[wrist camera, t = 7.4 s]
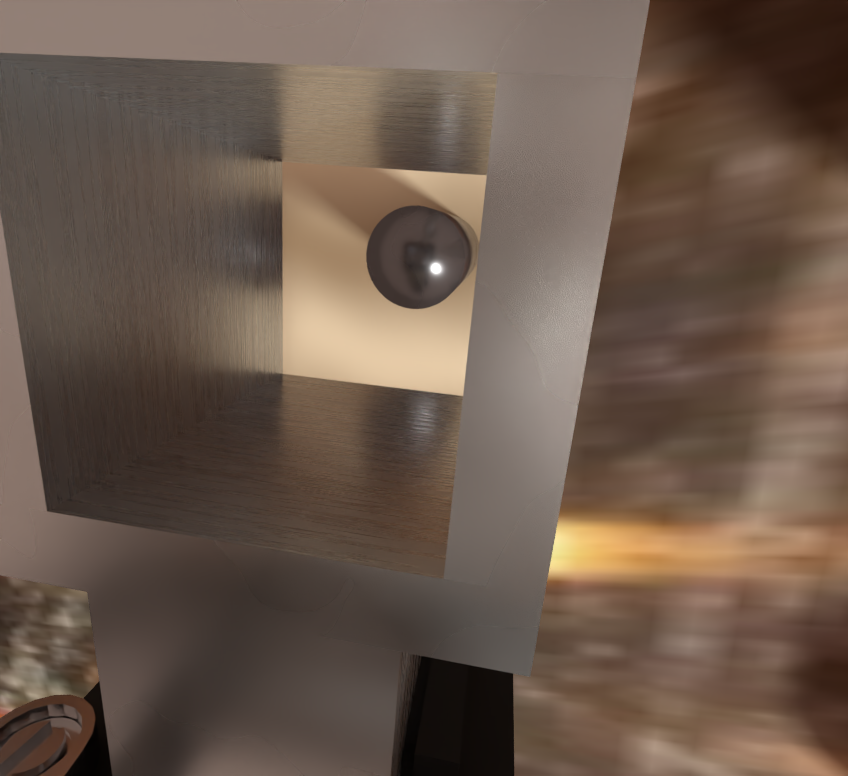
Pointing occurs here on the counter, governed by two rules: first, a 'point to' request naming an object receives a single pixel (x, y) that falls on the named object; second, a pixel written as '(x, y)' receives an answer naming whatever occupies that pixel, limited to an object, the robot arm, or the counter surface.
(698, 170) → the counter surface
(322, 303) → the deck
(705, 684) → the counter surface
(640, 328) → the counter surface
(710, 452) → the counter surface
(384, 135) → the link
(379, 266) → the pintle
